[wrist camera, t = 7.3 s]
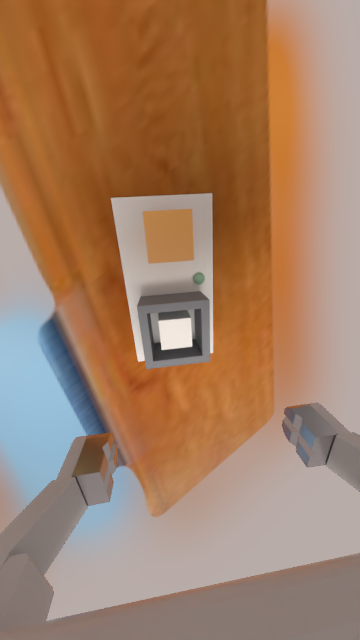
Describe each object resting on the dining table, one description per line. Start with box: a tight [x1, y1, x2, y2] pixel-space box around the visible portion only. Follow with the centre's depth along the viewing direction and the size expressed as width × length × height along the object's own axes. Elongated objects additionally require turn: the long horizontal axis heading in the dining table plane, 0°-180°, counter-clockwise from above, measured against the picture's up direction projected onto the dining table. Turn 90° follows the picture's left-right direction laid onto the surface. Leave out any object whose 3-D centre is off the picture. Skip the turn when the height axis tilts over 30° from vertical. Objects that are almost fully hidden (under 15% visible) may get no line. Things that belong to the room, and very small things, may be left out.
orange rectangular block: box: [142, 209, 194, 264], centre depth 21 cm, size 4×4×7 cm
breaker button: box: [158, 310, 192, 350], centre depth 25 cm, size 4×4×4 cm
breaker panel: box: [111, 193, 213, 369], centre depth 24 cm, size 22×12×6 cm, turn 4°
